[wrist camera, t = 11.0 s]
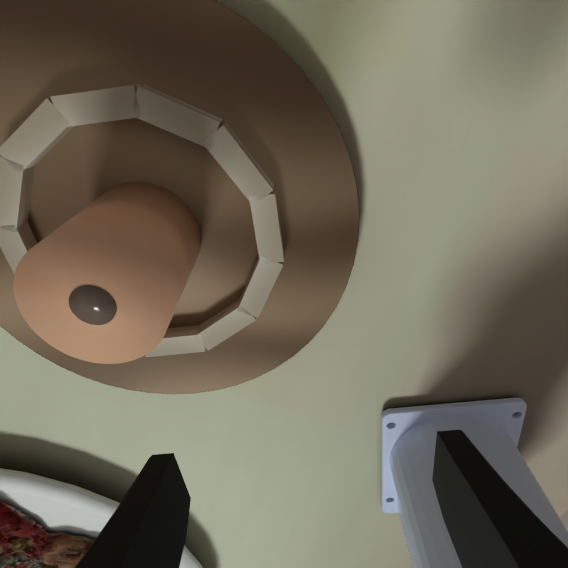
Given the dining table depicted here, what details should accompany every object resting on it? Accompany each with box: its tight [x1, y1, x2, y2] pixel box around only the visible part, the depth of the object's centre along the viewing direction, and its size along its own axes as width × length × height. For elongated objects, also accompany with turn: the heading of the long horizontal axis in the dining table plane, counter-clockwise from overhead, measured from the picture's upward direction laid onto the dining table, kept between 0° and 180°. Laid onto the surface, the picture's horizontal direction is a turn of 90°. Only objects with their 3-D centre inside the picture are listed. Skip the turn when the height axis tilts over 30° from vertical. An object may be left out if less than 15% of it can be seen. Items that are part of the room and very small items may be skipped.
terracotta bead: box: [13, 182, 201, 364], centre depth 15 cm, size 5×5×6 cm
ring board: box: [0, 0, 359, 394], centre depth 17 cm, size 18×18×2 cm
